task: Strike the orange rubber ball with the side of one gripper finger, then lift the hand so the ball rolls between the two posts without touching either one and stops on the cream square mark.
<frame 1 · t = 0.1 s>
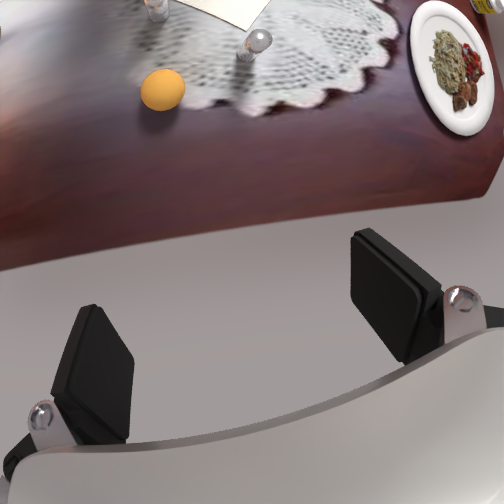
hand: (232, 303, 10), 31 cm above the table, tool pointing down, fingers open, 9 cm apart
plated food: (454, 66, 36), on the table
ball: (162, 89, 29), on the table
supplement bottle: (474, 4, 27), on the table
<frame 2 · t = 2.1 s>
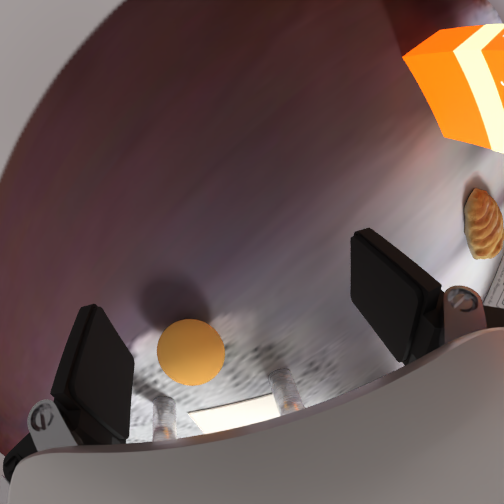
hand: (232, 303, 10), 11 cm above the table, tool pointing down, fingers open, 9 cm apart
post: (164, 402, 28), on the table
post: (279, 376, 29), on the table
orange juice: (443, 80, 18), on the table
pastry: (474, 222, 26), on the table
ball: (190, 352, 21), on the table
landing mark: (246, 423, 33), on the table
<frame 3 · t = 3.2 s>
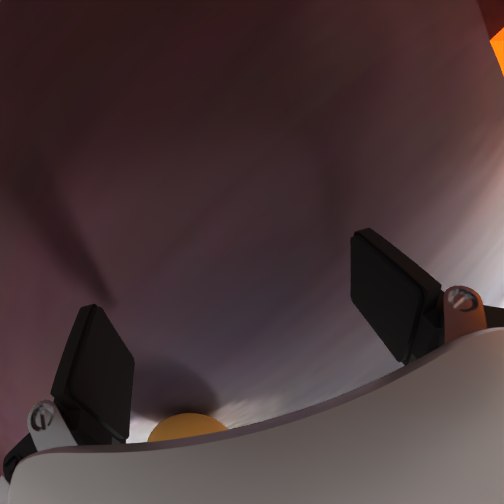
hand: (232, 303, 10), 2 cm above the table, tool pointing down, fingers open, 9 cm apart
ball: (193, 455, 13), on the table
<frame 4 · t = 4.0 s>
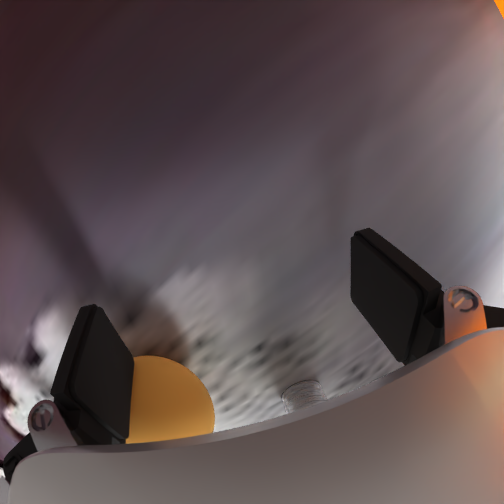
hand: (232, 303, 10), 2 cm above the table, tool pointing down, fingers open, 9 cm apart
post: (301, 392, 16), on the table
ball: (154, 413, 11), on the table, touching gripper
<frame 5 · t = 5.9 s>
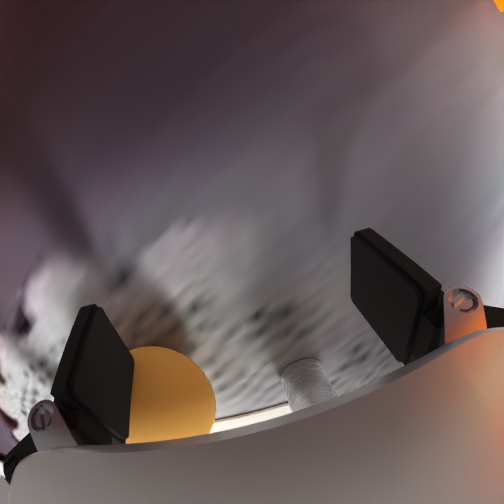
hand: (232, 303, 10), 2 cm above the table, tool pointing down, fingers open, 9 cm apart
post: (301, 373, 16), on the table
ball: (156, 403, 11), on the table, touching gripper
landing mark: (242, 448, 20), on the table
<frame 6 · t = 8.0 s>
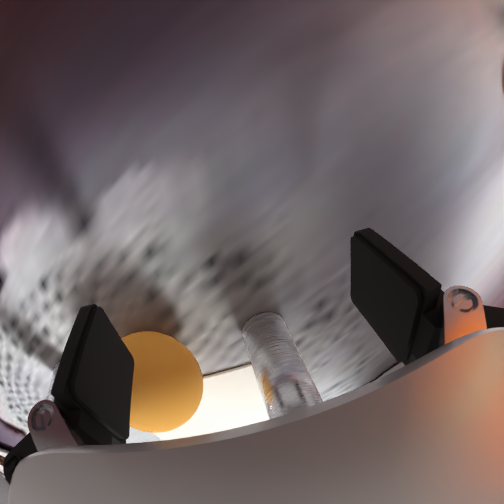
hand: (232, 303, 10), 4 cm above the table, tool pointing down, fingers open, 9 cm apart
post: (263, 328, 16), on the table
ball: (151, 382, 13), on the table
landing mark: (213, 416, 21), on the table
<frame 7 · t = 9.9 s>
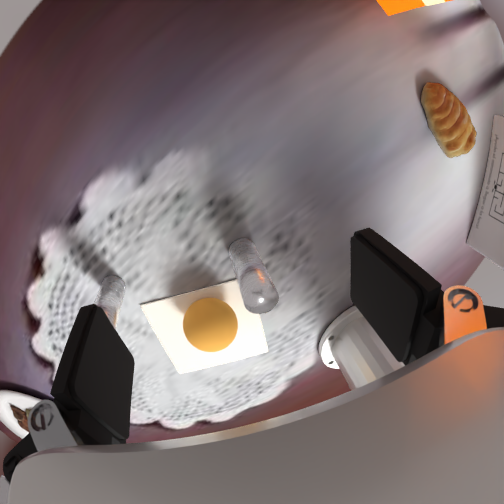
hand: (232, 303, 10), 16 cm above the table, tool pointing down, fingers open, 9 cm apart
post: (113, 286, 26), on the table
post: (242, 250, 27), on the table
plated food: (52, 427, 37), on the table
pastry: (440, 120, 25), on the table
cereal box: (492, 182, 31), on the table
ball: (210, 324, 27), on the table
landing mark: (209, 331, 31), on the table
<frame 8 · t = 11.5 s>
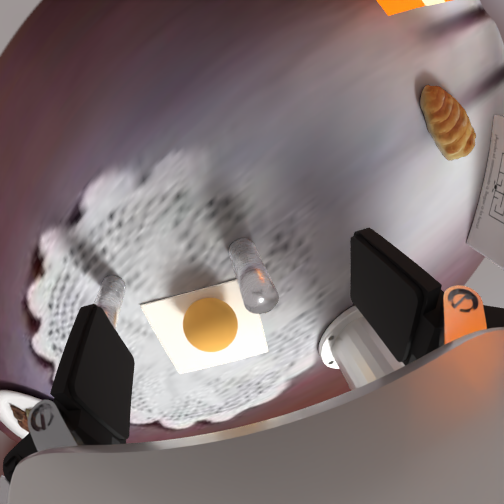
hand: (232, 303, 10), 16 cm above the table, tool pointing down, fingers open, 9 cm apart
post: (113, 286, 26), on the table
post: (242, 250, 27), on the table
plated food: (52, 427, 37), on the table
pastry: (439, 122, 26), on the table
cereal box: (492, 182, 31), on the table
ball: (210, 324, 27), on the table
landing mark: (209, 331, 31), on the table
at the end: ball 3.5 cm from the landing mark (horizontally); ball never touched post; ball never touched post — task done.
